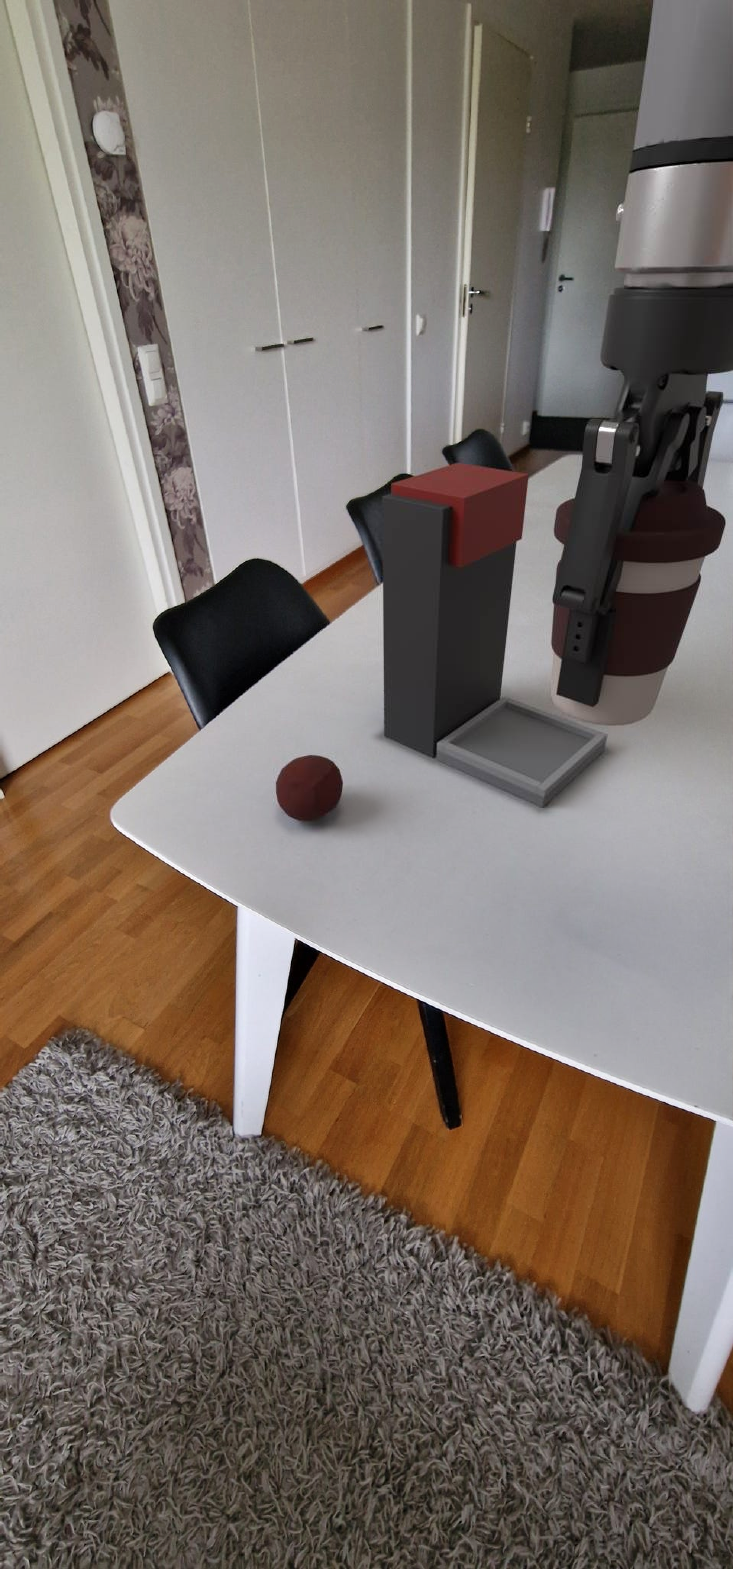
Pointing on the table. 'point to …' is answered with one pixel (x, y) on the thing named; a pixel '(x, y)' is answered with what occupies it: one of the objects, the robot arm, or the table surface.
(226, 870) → the table surface
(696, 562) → the coffee cup
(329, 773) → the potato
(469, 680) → the coffee machine
